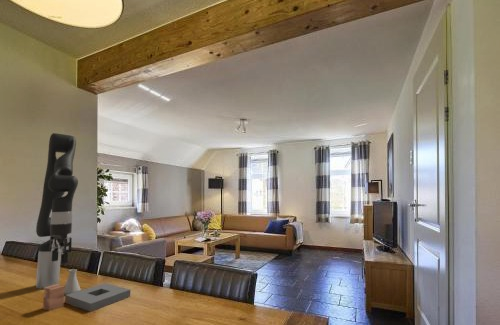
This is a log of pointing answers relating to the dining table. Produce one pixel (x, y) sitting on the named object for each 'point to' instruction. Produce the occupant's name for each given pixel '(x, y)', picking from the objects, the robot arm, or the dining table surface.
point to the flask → (72, 283)
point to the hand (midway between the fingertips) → (59, 262)
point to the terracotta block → (53, 297)
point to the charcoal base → (97, 296)
